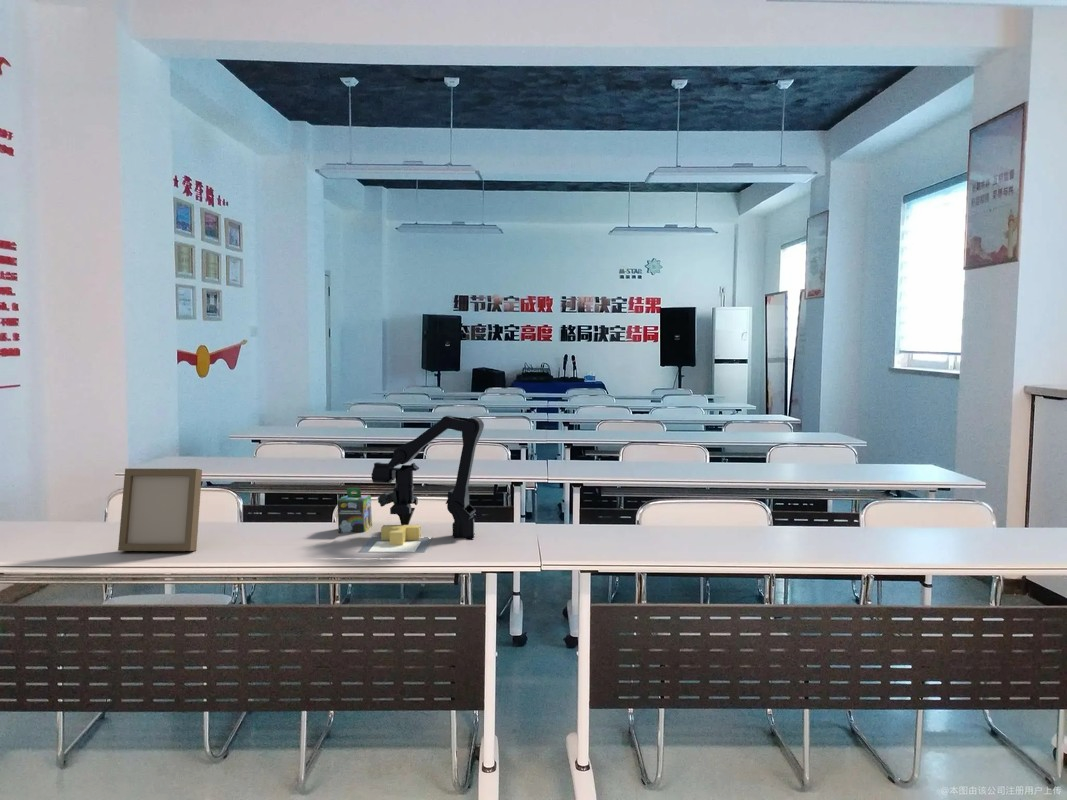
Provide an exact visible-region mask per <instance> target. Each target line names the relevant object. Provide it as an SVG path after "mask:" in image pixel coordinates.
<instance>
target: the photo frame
mask: <svg viewBox="0 0 1067 800" xmlns="http://www.w3.org/2000/svg"><path fill="white" fill-rule="evenodd" d="M202 474H203V470H202V469H200V468H124V476H123V477H124V478H123V490H122V499H121V500H122V503H121V504H122V505H121V513H120V522H119V523H120V525H119V535H118V545H117V546H118V547H117V548H118V549H117V552H133V551H134V552H186V551H187V552H195V550H196V551H197V549H198V548H197V547H198V545H197V544H198V532H199V521H200V520H199V519H200V517H199V516H200V507H201V506H200V503H201V491H202V477H203V476H202Z"/></svg>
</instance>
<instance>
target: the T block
mask: <svg viewBox="0 0 1067 800" xmlns="http://www.w3.org/2000/svg"><path fill="white" fill-rule="evenodd" d="M421 530H422V529H421V524H409V525H401V524H383V525H382V526H381V527H380V532H381V533H380V536H381V540H390V545H403V544H404V543H405V541H406V540H419V539H420V537H421V533H422V532H421Z"/></svg>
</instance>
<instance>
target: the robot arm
mask: <svg viewBox="0 0 1067 800" xmlns="http://www.w3.org/2000/svg"><path fill="white" fill-rule="evenodd" d="M484 427H485V424H484V421H483V420H482V418H480V417H478V416H472V417H469V418H468V417H461V416H459V417H458V416H453V415H444V416H443V417H441V419H440V420H438V421H437V422H436V423H435V424H434V425H432V426H431V427H429V428H427V430H425V431H424V432H422V433H421V434H420V435H419V436H417V437H416V438H414V439H412V440H411V441H409V442H407V443H404V444H402V445H401V446H398V447H396V448H395V449H394V450H393V452H392V453H393V454H392V458H391V459H390V461H388V462H379V461H378V462H374V463H373V468H372V473H371V481H372V483H373V484H392V482H393V481H395V487H394V488H393V489H392V491H389V492H387V493H386V492H383V493H380V494H379V496H378V497H377V500H378V501H377V503H378V504H379V506H380V507H385V505H389V504H391V503H393V505H392V506H391V507H390V508H389V513H390V515H396V516H398V518H399V520H400V525H410V523H411V519H412V517H413V514H414V512H415V510H416V508H415V507H412V504H413V505H415V506H418V504H419V502H418V501H419V498H418V497H417V496H416V495H414V489H415V485H414V472H417V471H418V470H420V467H419V466H418V465H416V463H415V462H413V463H411V464H407V463H409V462H412V461H413V460H414V459H415V458H416V457H417V455H418V454H420V452H421V451H422V450H423V448H425V447H426V446H427V445H428V444H430V443H431V442H432V441H434V440H435V439H437V438H438V437H439V436H441V435H442V434H444V433H445V432H446V431H447V430H448V429H449V430H452V431H453V430H454V431H457V432H461V438H462V448H461V453H460V459H459V460H460V461H459V465H458V469H457V474H456V480H455V485H454V488H452V489H450V490H449V491H447V499H446V501H445V505H446V507H447V508H446V509H447V511H448V512H449V513H450V514H451V516H452V518H453V523H452V537H453V539H466V540H468V539H467V538H470V539H469V540H472V539H471V538H474V539H475V536H476V533H475V517H474V516H475V514H476V510H477V509H475V508H474V507H473V506H472V504H470V491H469V490H470V489H469V485H470V478H471V474H472V468H473V462H474V457H475V452H476V447H477V444H478V443H479V441H480V439H481V436H482V434H483V431H484ZM399 465H401V466H400V467H398V466H399ZM474 535H475V536H474Z"/></svg>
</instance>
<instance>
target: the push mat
mask: <svg viewBox="0 0 1067 800" xmlns="http://www.w3.org/2000/svg"><path fill="white" fill-rule="evenodd" d="M432 540H433V538H432V539H429V538H428V537H424V538H420V539H419V540H406V541H405V543H404V544H403V545H390V540H381V535H380V536H379V535H377V536H371V537H370V538H369V539H368V540H367V542H365V544H363V545H362V547H361V548H360V549H359V550H358V551H357V553H370V554H371V553H375V554H376V553H378V554H379V553H381V554H382V553H391V554H392V553H397V554H399V553H401V554H403V553H405V554H406V553H408V554H409V553H415V554H416V553H419V554H421V553H425V552H426V550H427V549H428V547H429V545H430V543H431V541H432Z"/></svg>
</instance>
